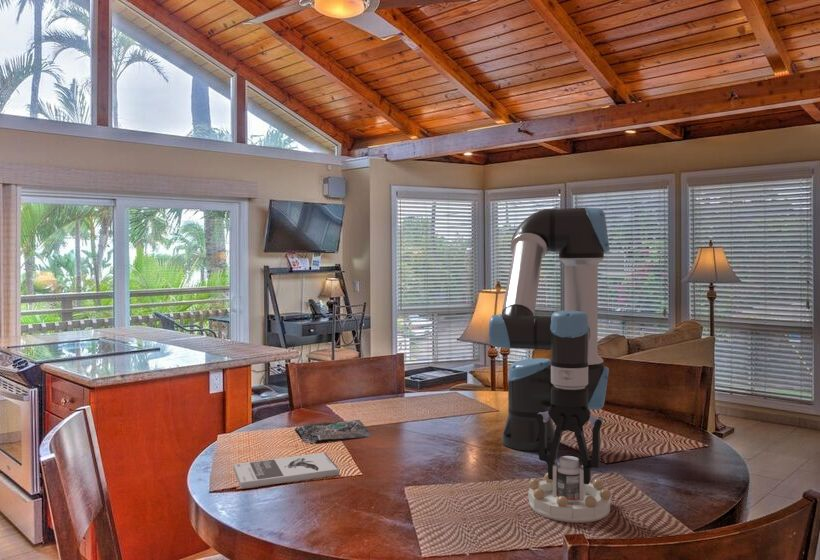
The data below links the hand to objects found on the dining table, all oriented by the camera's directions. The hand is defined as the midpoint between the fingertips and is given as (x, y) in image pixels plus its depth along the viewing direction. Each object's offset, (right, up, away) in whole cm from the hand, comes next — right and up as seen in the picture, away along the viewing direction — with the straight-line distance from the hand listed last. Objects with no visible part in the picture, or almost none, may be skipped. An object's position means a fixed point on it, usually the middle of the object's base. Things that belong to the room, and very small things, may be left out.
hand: (569, 496), depth 132 cm
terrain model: (-56, -1, +55) cm, 78 cm away
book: (-64, -2, +22) cm, 67 cm away
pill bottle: (0, -1, 0) cm, 1 cm away
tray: (0, -2, 0) cm, 2 cm away
